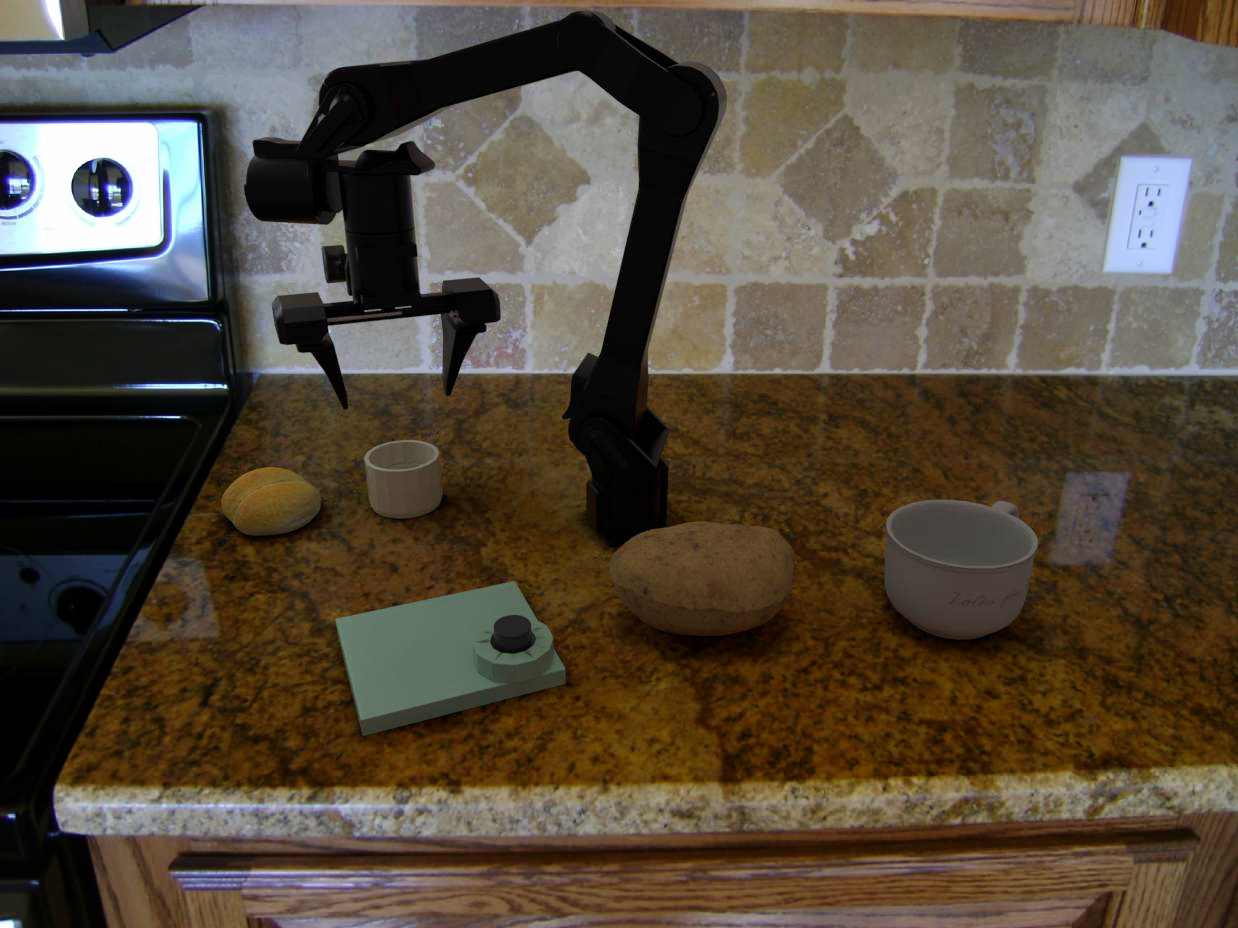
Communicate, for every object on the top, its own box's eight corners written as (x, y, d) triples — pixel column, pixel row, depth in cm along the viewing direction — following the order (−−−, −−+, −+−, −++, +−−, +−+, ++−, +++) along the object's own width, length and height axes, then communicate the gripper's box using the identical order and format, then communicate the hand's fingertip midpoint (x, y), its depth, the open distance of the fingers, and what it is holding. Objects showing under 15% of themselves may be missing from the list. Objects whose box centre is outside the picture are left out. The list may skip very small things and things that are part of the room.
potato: (605, 590, 76) (606, 504, 73) (775, 586, 77) (784, 501, 73) (611, 665, 67) (612, 571, 64) (803, 660, 68) (814, 567, 65)
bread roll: (250, 549, 81) (243, 509, 79) (214, 511, 87) (206, 472, 85) (339, 519, 86) (334, 481, 84) (299, 485, 92) (293, 448, 90)
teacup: (953, 676, 67) (973, 581, 63) (844, 602, 75) (857, 515, 71) (1072, 617, 73) (1096, 529, 70) (960, 555, 82) (977, 473, 78)
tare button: (525, 629, 67) (524, 611, 66) (536, 649, 65) (536, 631, 64) (490, 637, 66) (489, 619, 65) (500, 658, 64) (499, 639, 63)
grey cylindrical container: (433, 481, 93) (430, 435, 91) (450, 511, 88) (446, 464, 85) (364, 492, 91) (359, 446, 89) (376, 525, 85) (371, 476, 83)
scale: (515, 595, 75) (514, 563, 74) (567, 686, 65) (566, 651, 64) (337, 633, 70) (332, 600, 69) (363, 739, 60) (358, 702, 59)
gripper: (465, 204, 88) (474, 361, 95) (255, 217, 81) (281, 384, 88) (498, 227, 79) (506, 399, 85) (264, 244, 72) (293, 429, 79)
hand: (397, 401), depth 85 cm, fingers open, 9 cm apart
